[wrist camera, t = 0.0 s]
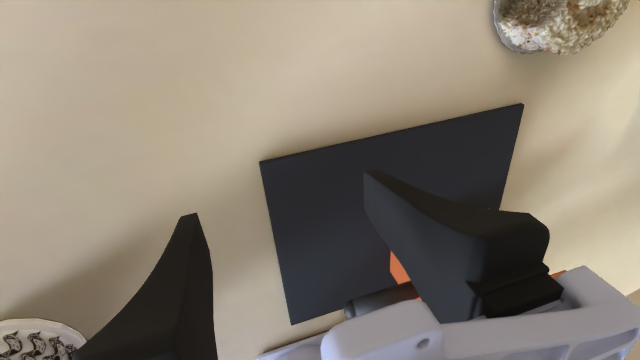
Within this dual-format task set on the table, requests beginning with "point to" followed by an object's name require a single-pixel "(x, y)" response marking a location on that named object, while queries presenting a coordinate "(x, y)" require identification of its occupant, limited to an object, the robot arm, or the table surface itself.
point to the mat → (348, 201)
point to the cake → (554, 23)
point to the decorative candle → (38, 340)
